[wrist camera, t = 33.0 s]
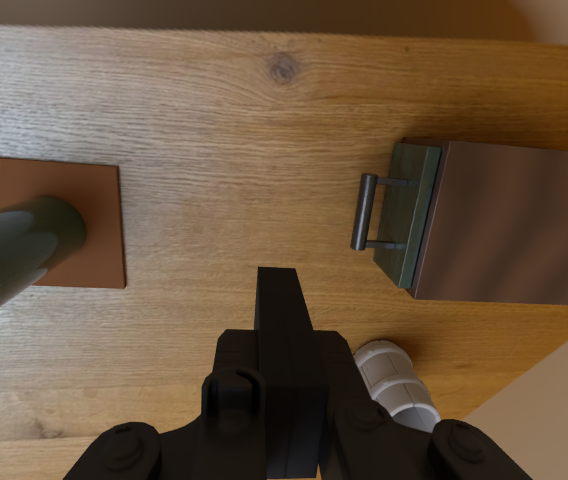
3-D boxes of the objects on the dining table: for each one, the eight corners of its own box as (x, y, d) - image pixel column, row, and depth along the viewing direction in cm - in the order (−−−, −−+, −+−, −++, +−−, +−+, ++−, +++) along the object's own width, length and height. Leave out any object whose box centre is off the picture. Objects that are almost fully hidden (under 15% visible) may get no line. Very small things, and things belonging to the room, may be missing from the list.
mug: (405, 383, 44) (456, 471, 33) (316, 394, 44) (338, 487, 32) (408, 334, 42) (465, 410, 31) (314, 344, 41) (337, 426, 30)
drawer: (336, 258, 37) (353, 286, 30) (353, 138, 33) (377, 141, 26) (494, 266, 39) (543, 294, 32) (528, 154, 35) (591, 160, 28)
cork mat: (-28, 155, 31) (-32, 155, 31) (118, 166, 33) (116, 166, 32) (-3, 282, 35) (-7, 284, 35) (125, 286, 37) (124, 289, 36)
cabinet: (379, 262, 39) (414, 299, 30) (402, 137, 34) (450, 140, 26) (506, 268, 40) (572, 305, 32) (543, 149, 36) (631, 156, 28)
